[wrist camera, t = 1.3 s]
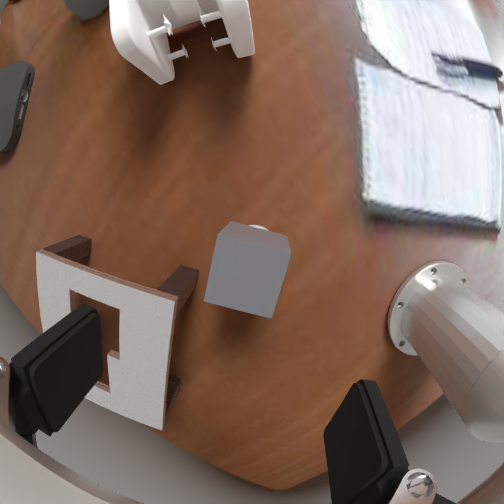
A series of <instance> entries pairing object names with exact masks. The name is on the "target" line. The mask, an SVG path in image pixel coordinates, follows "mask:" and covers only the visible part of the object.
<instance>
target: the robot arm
mask: <svg viewBox="0 0 504 504" xmlns="http://www.w3.org/2000/svg"><path fill="white" fill-rule="evenodd" d="M387 324H388V332H389V336H390V338H391V340H392V342H393V343H394V345H395V346H396V347H397V349H399V350H400V351H401V352H403V353H405V354H408V355H413V356H419V357H420V359H421V360H422V361H423V363H424V364H425V366H426V367H427V368H428V370H429V371H430V373H431V374H432V376H433V377H434V379H435V380H436V382H437V383H438V384H439V386H440V387H441V389H442V390H443V392H444V393H445V395H446V396H447V398H448V399H449V401H450V403H451V404H452V406H453V407H454V409H455V410H456V412H457V414H458V415H459V416H460V418H461V420H462V421H463V422H464V424H465V426H466V427H467V429H468V430H469V432H470V433H471V434H472V435H473V436H474V437H476V438H478V439H479V440H482V441H486V442H504V313H503V312H502V311H500V310H499V309H497V308H496V307H495V306H493V305H492V304H490V303H489V302H488V301H486V300H485V299H483V298H482V297H480V296H479V295H478V294H476V293H475V292H473V291H472V290H470V284H469V281H468V278H467V276H466V274H465V273H464V271H463V270H462V269H461V268H460V267H458V266H457V265H455V264H453V263H450V262H448V261H434V262H430V263H428V264H425V265H423V266H421V267H420V268H418V269H417V270H415V271H414V272H413V273H412V274H411V275H410V276H408V277H407V279H406V280H405V281H404V282H403V283H402V285H401V286H400V288H399V289H398V291H397V292H396V294H395V296H394V298H393V300H392V303H391V306H390V309H389V312H388V320H387ZM11 360H12V362H11V363H10V364H8V362H7V361H6V360H5V359H4V358H2V357H0V504H142V503H139V502H137V501H134V500H132V499H129V498H127V497H124V496H122V495H120V494H117V493H115V492H113V491H111V490H109V489H107V488H104V487H102V486H100V485H98V484H96V483H94V482H92V481H90V480H89V479H87V478H84V477H83V476H81V475H79V474H77V473H76V472H74V471H72V470H71V469H69V468H67V467H65V466H64V465H62V464H61V463H59V462H57V461H56V460H54V459H52V458H51V457H50V456H48V455H47V454H45V453H44V452H42V451H41V450H39V449H38V448H37V442H36V435H35V433H36V432H37V430H38V429H39V430H41V431H42V432H44V433H45V434H47V435H48V436H51V435H52V433H53V432H58V431H59V430H60V428H61V427H62V426H63V425H64V423H65V422H66V421H67V419H68V418H69V417H70V415H71V414H72V413H73V412H74V410H75V409H76V408H77V406H78V405H79V404H80V403H81V401H82V400H83V399H84V398H85V396H86V395H87V394H88V393H89V391H90V390H91V389H92V388H93V386H94V385H95V384H96V383H97V381H98V380H99V379H100V377H101V376H102V373H103V361H102V347H101V326H100V316H99V315H98V314H97V311H96V310H95V309H93V308H91V307H88V306H86V305H83V304H82V305H80V306H79V307H77V308H76V309H75V310H73V311H72V312H71V313H69V314H68V315H66V316H65V317H64V318H62V319H61V320H60V321H58V322H57V323H56V324H54V325H53V326H52V327H50V328H49V329H48V330H47V331H45V332H44V333H43V334H41V335H40V336H39V337H38V338H36V339H35V340H34V341H33V342H31V343H30V344H29V345H27V346H26V347H25V348H24V349H22V350H21V351H20V352H19V353H18V354H16V355H15V356H14V357H13V358H12V359H11ZM324 444H325V451H326V458H327V466H328V473H329V482H330V490H331V500H332V504H504V463H503V464H502V465H501V466H500V467H499V468H498V469H497V470H496V471H495V472H494V473H493V474H491V475H490V476H489V477H488V478H487V479H486V480H485V481H483V482H482V483H481V484H480V485H479V486H477V487H476V488H475V489H474V490H472V491H471V492H470V493H469V494H467V495H466V496H465V497H464V498H462V499H461V500H460V501H459V502H457V503H454V502H452V501H450V500H448V499H446V498H444V497H442V496H441V495H439V494H437V493H436V491H437V483H436V480H435V478H434V477H433V476H432V475H431V474H430V473H429V472H427V471H425V470H422V469H413V470H411V471H409V470H408V466H409V464H408V461H407V458H406V455H405V453H404V450H403V447H402V445H401V442H400V439H399V437H398V434H397V432H396V429H395V427H394V424H393V422H392V419H391V417H390V414H389V412H388V409H387V407H386V404H385V402H384V400H383V397H382V395H381V393H380V390H379V388H378V386H377V383H376V382H375V381H371V380H359V381H358V382H357V383H354V384H353V385H352V387H351V388H350V390H349V392H348V393H347V395H346V397H345V398H344V400H343V402H342V403H341V405H340V406H339V408H338V410H337V411H336V413H335V414H334V416H333V417H332V419H331V420H330V422H329V423H328V425H327V426H326V428H325V430H324Z"/></svg>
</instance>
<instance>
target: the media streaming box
mask: <svg viewBox="0 0 504 504" xmlns="http://www.w3.org/2000/svg"><path fill="white" fill-rule="evenodd" d="M33 79H34V67H33V65H32V64H29V63H26V62H23V61H20V62H16V63H13V64H10V65H8V66H6V67H4V68H2V69H1V70H0V153H1V152H6V151H10V150H11V149H12V148H13V147H14V146H15V144H16V143H17V141H18V139H19V137H20V134H21V131H22V126H23V121H24V116H25V112H26V108H27V103H28V99H29V95H30V91H31V87H32V83H33Z"/></svg>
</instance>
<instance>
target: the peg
mask: <svg viewBox="0 0 504 504" xmlns="http://www.w3.org/2000/svg"><path fill="white" fill-rule="evenodd" d="M290 257H291V249H290V246H289V242H288V239H287V236H286V235H283V234H279V233H275V232H271V231H269V230H268V229H266V228H265V227H263V226H260V225H254V224H253V225H244V224H240V223H236V222H232V221H230V222H229V223H228V224H227V225H226V226H225V227H224V228H223V229H222V230H221V232H220V233H219V234H218V236H217V240H216V245H215V249H214V254H213V259H212V263H211V268H210V273H209V278H208V283H207V288H206V293H205V298H204V301H205V302H209V303H212V304H216V305H220V306H223V307H227V308H231V309H235V310H239V311H243V312H247V313H251V314H255V315H259V316H263V317H267V318H271V319H272V316H273V312H274V309H275V306H276V303H277V300H278V297H279V293H280V290H281V287H282V284H283V280H284V277H285V274H286V270H287V267H288V264H289V260H290Z"/></svg>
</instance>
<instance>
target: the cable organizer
mask: <svg viewBox="0 0 504 504" xmlns="http://www.w3.org/2000/svg"><path fill="white" fill-rule="evenodd" d="M109 5H110V25H111V34H112V38H113V41H114V44H115V46H116V48H117V50H118V52H119V53H120V54H121V56H123V57H124V58H125V59H126V60H128V61H129V62H130V63H132V64H133V65H134V66H136V67H137V68H139V69H140V70H141V71H142V72H144V73H145V74H146V75H148V76H149V77H150V78H152V79H153V80H154V81H156V82H157V83H158V84H160V85H162V84H164V83H167V82H170V81H172V80H174V77H175V73H174V66H173V61H172V60H173V59H176V58H179V57H181V56H184V55H186V58H187V57H188V53H187V50H186V49H185V48H184V46H183V44H182V46H183V48H182V50H179V51H177V52H174V53H171V52H170V48H169V43H168V38H167V32H168V33H169V35H170V33H171V34H172V35H173V32H172V30H173V29H175V28H178V27H181V26H184V25H187V24H189V23H193V22H196V21H199V20H201V22H202V23H203V25H204V27H206V26H205V24H204V23H205V22H209V21H212V20H216V19H219V18H222V19H223V22H224V25H225V28H226V31H227V34H228V37H227V38H223V39H219V40H216V41H213V39H212V37H211V39H212V45H213V47H214V49H215V50H216V47H219V46H222V45H226V44H230V43H231V46H232V49H233V51H234V53H235V55H236V56H237V57H238V58H242V57H246V56H250V55H254V54H255V46H254V39H253V32H252V25H251V18H250V11H249V5H248V0H109ZM216 51H217V50H216ZM188 58H189V57H188Z"/></svg>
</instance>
